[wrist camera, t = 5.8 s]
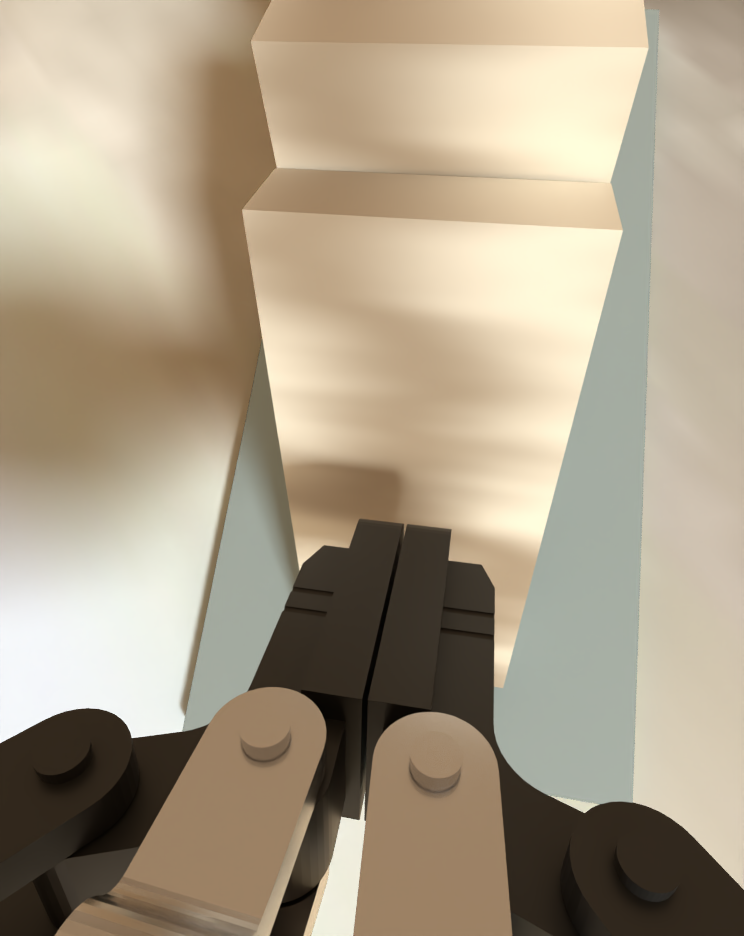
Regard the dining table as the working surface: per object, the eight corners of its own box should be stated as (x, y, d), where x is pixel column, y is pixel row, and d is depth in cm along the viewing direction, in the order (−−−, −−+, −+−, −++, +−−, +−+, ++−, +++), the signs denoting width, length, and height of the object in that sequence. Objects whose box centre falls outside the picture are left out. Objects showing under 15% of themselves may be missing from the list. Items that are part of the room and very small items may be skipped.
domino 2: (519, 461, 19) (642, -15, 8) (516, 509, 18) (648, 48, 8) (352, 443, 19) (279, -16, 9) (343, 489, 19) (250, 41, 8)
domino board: (653, 25, 23) (659, 9, 23) (625, 804, 17) (632, 810, 16) (332, 21, 25) (329, 6, 24) (190, 728, 18) (182, 731, 18)
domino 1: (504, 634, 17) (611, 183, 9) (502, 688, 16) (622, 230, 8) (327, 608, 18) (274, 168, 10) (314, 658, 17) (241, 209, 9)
